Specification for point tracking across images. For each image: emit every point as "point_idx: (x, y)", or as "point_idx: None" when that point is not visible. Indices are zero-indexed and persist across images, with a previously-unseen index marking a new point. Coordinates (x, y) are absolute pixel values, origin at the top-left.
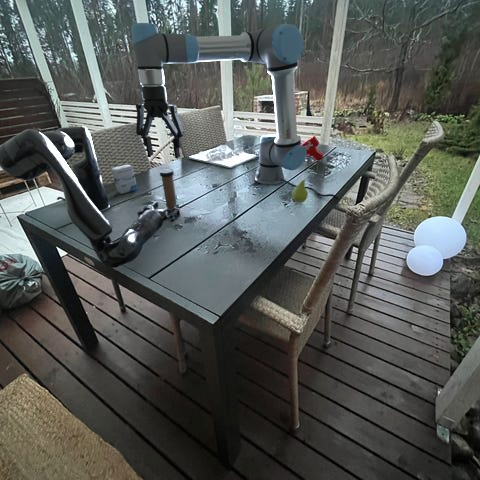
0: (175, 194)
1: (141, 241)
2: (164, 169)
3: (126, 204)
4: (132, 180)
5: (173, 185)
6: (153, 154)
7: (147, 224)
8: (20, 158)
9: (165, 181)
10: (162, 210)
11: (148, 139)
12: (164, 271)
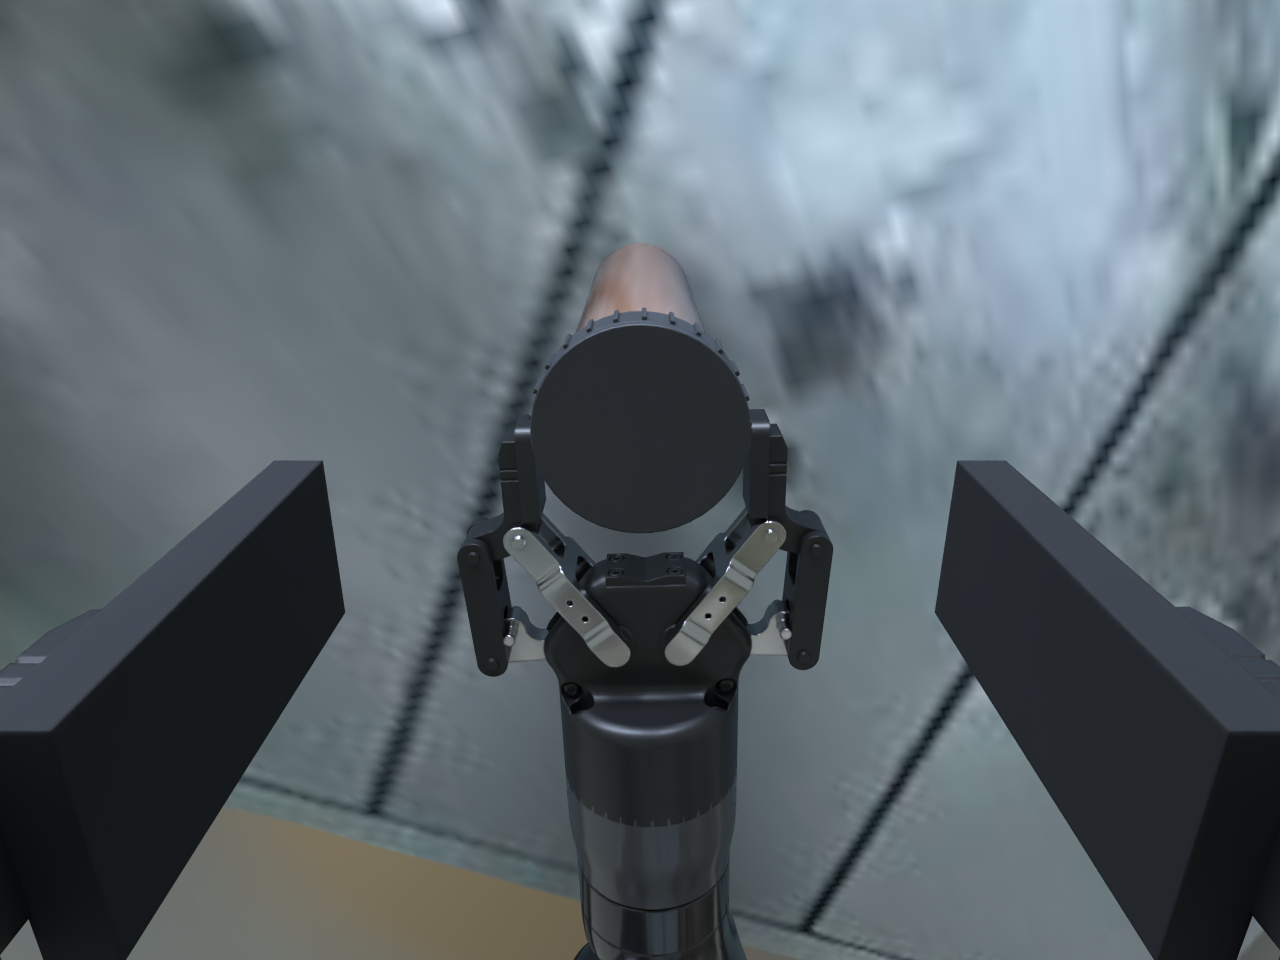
0: (699, 316)
1: (735, 949)
2: (572, 371)
3: (10, 145)
4: None
5: None
6: (321, 463)
7: (712, 871)
8: None
9: None
10: (700, 627)
11: (142, 807)
12: (859, 881)
